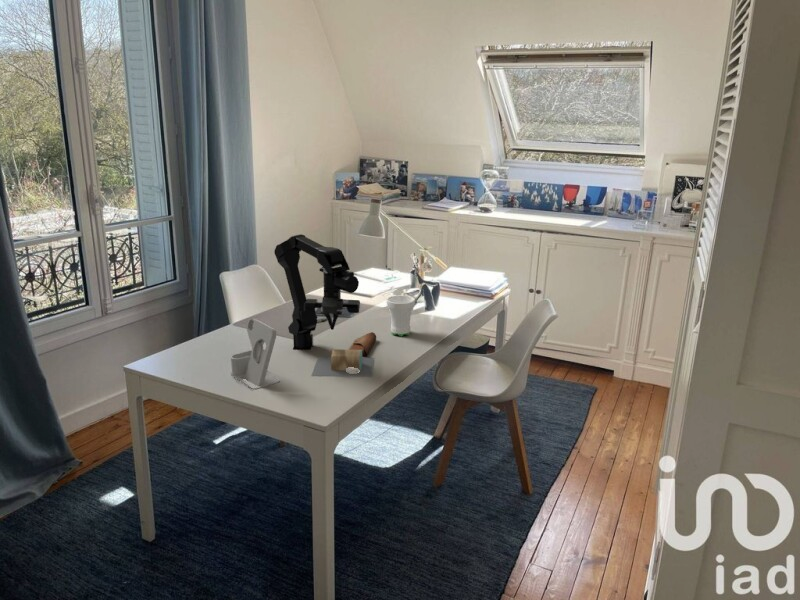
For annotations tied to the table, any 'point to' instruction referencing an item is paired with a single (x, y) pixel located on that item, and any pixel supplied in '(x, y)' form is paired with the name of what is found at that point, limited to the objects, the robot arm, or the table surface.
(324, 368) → the rubber mat
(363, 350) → the sunglasses case
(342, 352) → the oak block
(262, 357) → the phone holder
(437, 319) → the table surface
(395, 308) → the cup
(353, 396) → the table surface
